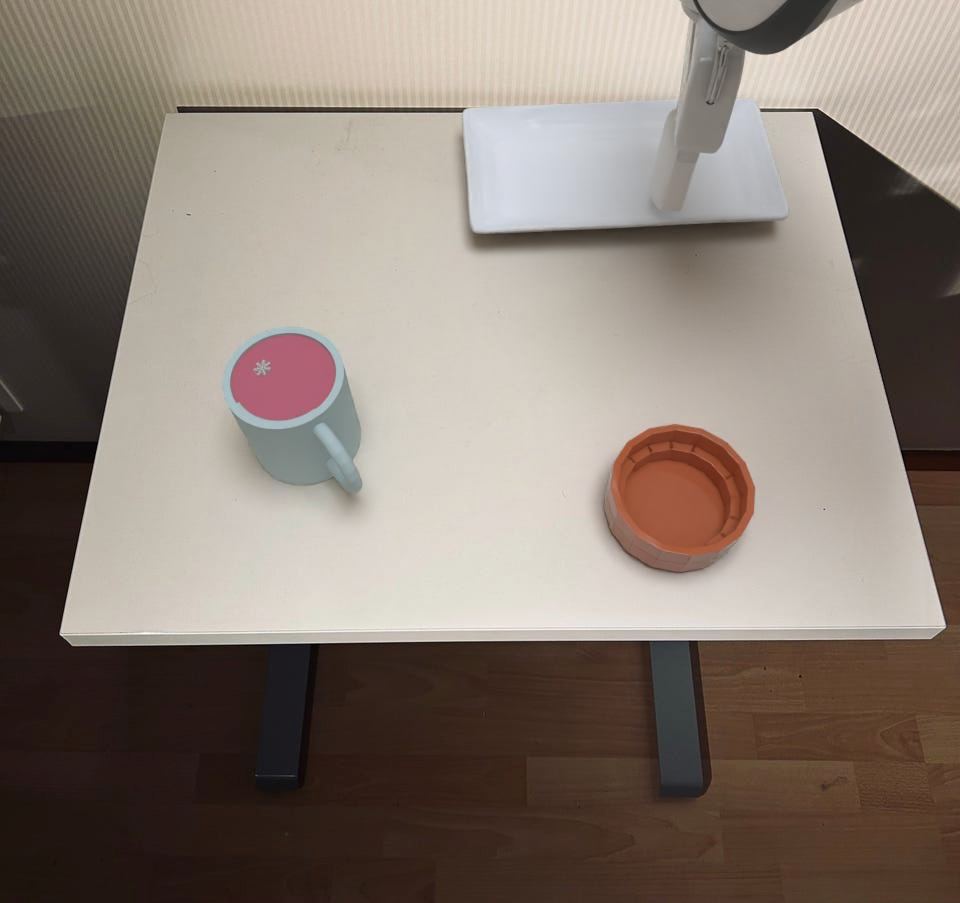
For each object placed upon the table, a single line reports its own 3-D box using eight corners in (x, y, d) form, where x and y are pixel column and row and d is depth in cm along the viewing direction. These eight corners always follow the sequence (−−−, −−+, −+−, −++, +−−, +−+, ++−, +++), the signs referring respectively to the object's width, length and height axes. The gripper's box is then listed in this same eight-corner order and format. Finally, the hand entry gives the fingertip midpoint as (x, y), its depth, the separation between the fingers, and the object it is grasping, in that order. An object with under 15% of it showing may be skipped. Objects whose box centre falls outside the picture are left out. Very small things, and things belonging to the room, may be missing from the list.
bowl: (741, 462, 69) (757, 438, 65) (734, 585, 64) (751, 567, 60) (612, 439, 70) (620, 414, 66) (595, 559, 65) (602, 539, 61)
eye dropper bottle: (698, 181, 79) (733, 75, 68) (676, 219, 77) (708, 116, 66) (657, 165, 80) (685, 59, 69) (634, 202, 78) (659, 98, 67)
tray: (782, 240, 80) (795, 215, 77) (469, 254, 79) (469, 229, 76) (747, 121, 88) (757, 94, 84) (461, 132, 87) (460, 106, 84)
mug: (235, 428, 70) (200, 366, 61) (324, 374, 73) (303, 307, 64) (318, 546, 65) (293, 497, 56) (411, 483, 68) (401, 427, 59)
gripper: (773, 60, 53) (719, 211, 65) (782, -111, 62) (733, 49, 75) (678, 48, 54) (642, 200, 66) (701, -120, 63) (665, 41, 75)
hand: (690, 119), depth 70 cm, fingers open, 8 cm apart
